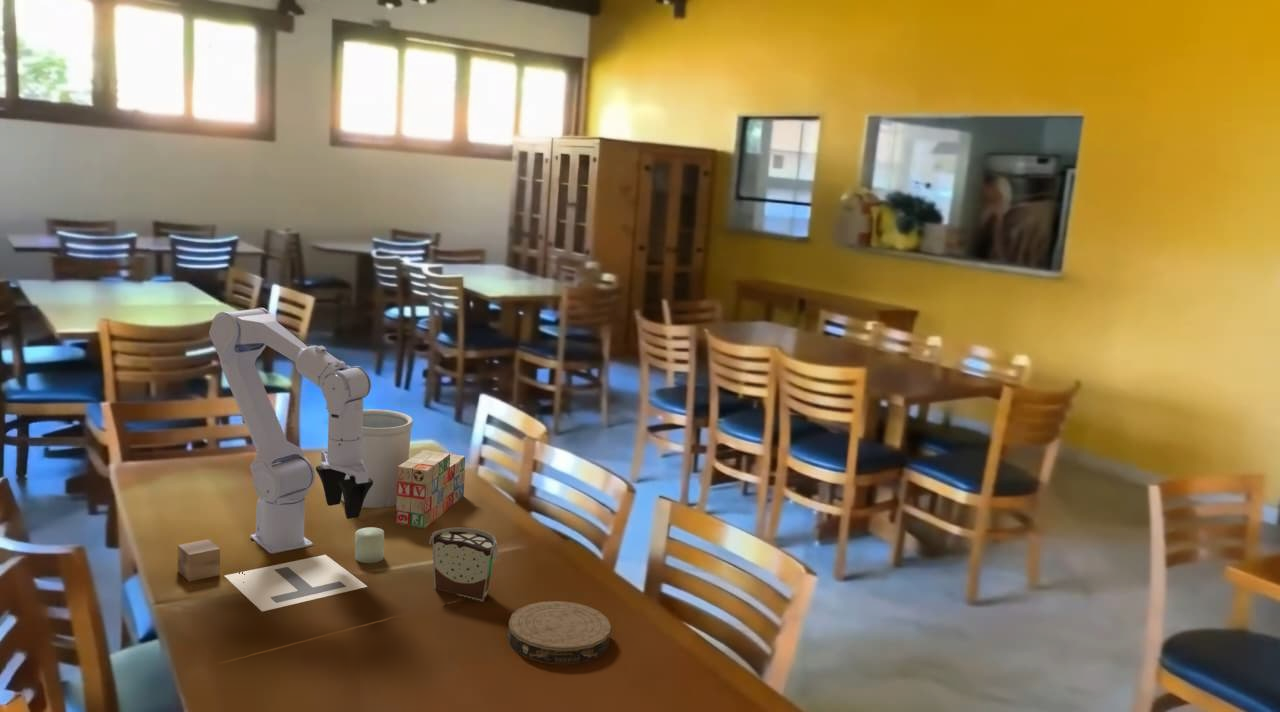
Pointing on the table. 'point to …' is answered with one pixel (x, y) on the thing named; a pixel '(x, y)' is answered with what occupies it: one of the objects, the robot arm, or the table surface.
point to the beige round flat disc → (559, 632)
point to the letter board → (294, 582)
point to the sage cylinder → (369, 545)
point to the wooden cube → (198, 560)
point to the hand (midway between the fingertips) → (343, 511)
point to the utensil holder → (384, 453)
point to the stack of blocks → (428, 487)
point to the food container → (463, 561)
